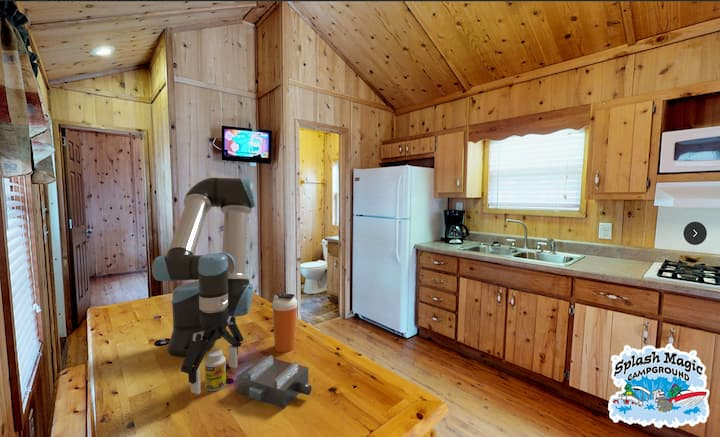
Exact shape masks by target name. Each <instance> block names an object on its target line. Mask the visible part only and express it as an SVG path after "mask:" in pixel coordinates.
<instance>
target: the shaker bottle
mask: <svg viewBox="0 0 720 437" xmlns="http://www.w3.org/2000/svg"><path fill="white" fill-rule="evenodd" d="M295 296H296V295H295V294H293V293H284V292H283V291H281V292H279V293H276V294H274V295H273V301H272V302H271V308H272V315H273V316H272V319H273V320H272V321H273V336H274V337H273V338H274V350H275V351H276V352H277V353H288V352H291V351H293V350H294V349H295V347H296V346H295V345H296V329H297V328H296V327H297V325H296V324H297V308H298V300H297V298H296V297H295Z"/></svg>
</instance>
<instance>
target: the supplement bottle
mask: <svg viewBox="0 0 720 437" xmlns="http://www.w3.org/2000/svg"><path fill="white" fill-rule="evenodd" d="M226 362H227V360H226V357H225V356H224V352H223V350H222V349H213V350H210V351H209V352H208V353H207V358H206V359H205V361H204V380H205V381H204V387H205V389H206V390H207V391H209V392H215V391H219V390H221V389H222V388H224V387H225V386H226V384H227V368H226V367H227V366H226V365H227V363H226Z"/></svg>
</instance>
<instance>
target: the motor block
mask: <svg viewBox="0 0 720 437" xmlns="http://www.w3.org/2000/svg"><path fill="white" fill-rule="evenodd" d="M312 389H313V388H312V385H311V384H310V385H309V367H308V366H305V365H300V364H299V362H298V361H294V362H289V361H285V360H282V359H277V358H275V357H274V355H272V354H270V355H269V356H267V355H264V356H263V357H261V358H259V360H257V361H255V363H253V364H252V365H250V366H249V367H248V368H246V369H245V370H243V371H242V372H241V373H240V374H238V375H237V376H236V393H237V394H239V395H242V396H245V397H247V398H249V399H252V400H256V401H258V402H263V403H265V404H270V405H272V406H275V407H278V408H281V409H286V408H287V406H288V405H290V404H291V402H292V401H294V399H295V398H296V397H297V396H298V395H299V394H303V395H306V396H310V395H311V392H312V391H313V390H312Z"/></svg>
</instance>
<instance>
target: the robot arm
mask: <svg viewBox="0 0 720 437" xmlns="http://www.w3.org/2000/svg"><path fill="white" fill-rule="evenodd" d="M183 206H184V208H183V210H182V212H181V215H180V218H179V221H178V224H177V226H176V229H175V231H174V234H173V236H172V238H171V239H172V240H171V242H170V245H169V247H168V250H167V251H166V252H167V253H166V255H161V256H156V258H155V259H153V262H152V267H151V272H152V276H153V278H154V280H156V281H158V282H160V281H161V282H174V281H178V282H179V281H190V282H188V283H187V282H186V283H184V284H180V285H179V286H177V287H175V289H173V290H172V300H171V306H172V327H173V328H172V329H173V330H172V332H171V335H170V340H169V342H168V344H167V349H168V350H167V352H168V354H169V355H171V356H173V357H178V358H179V357H181V358H184V359H183V362H182V366H181V368H180V371H181V373H185V374H187V376H188V383H189V384H190V392H191V393H193V394H196V395H200V394H201V388H202V387H201V370H200V369H199V367H200V365H201V363H202V361H203V359H204V357H205V355H206V353H207V352H208V351H209V350H210V349H211V350H212V348H213V347H215V345H216V342H217V340H220V339H222V338H223V339H224V340H225V341H226V342H227V343H228V344H230V345H229V346H228V367H230V368H233V369H237V368H238V355H239V347H241V346H242V342H243V341H244V337H243V335H242V333H241V331H240V329H239V327H238V324H237V323H236V317H244V316H246V315H248V314H249V312H250V309H251V306H252V301H253V294H254V284H253V283H251V282H250V278H249V277H248V276H247V275H246V263H247V262H246V259H247V258H246V257H247V234H248V233H247V232H248V231H247V230H248V229H247V228H248V215H250V213H252V208H255V207H256V194H255V189H254V183H253V181H252V180H251V179H250V178H241V177H239V178H238V177H237V178H236V177H208V178H205V179H203V180H201V181H198V182H197V183H196V184H195V185H193V186H192V187H190V189H189V190H188V192H187V193H186V194H185V196H184V200H183ZM214 207H215V208H220V209H219V210H220V211H221V213H222V214H223V233H222V248H221V249H222V250H221V252H218V253H217V252H215V253H213V252H212V253H207V254H202V255H201V254H200V255H199V254H198V255H195V253H196V249H197V247H198V243H199V240H200V239H199V238H200V236H201V233H202V229H203V226H204V222H205V219H206V217H207V213H209V212H210V211H211V209H212V208H214ZM227 327H228V329H229V331H228V330H227ZM230 333H231V334H230Z"/></svg>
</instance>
